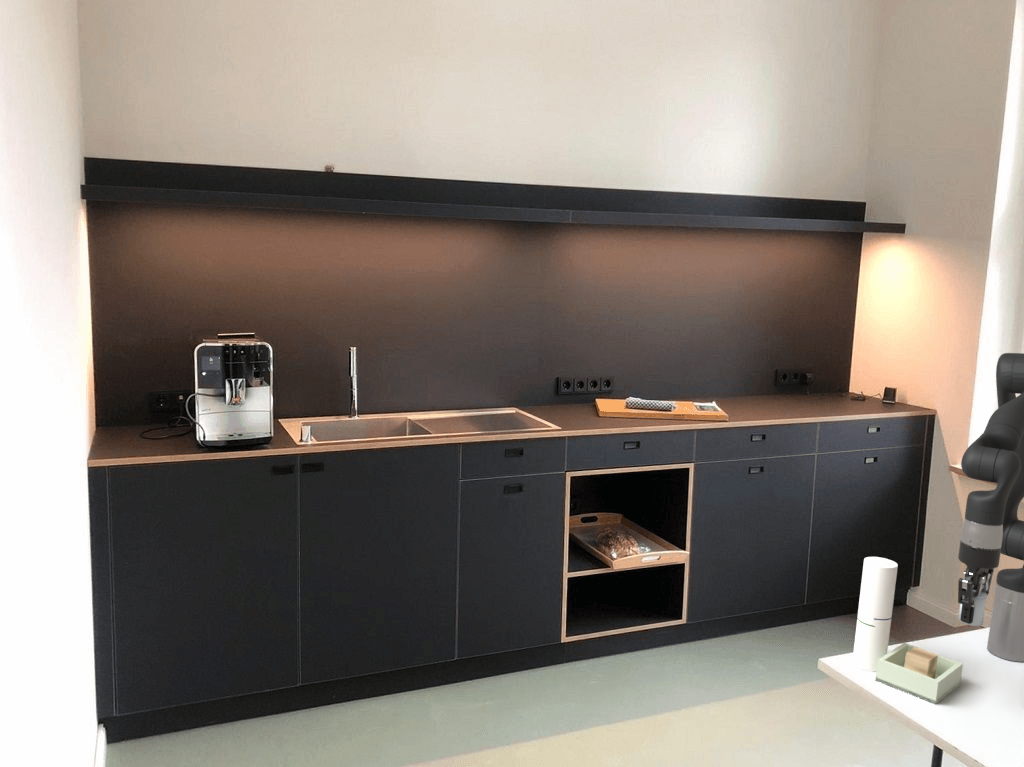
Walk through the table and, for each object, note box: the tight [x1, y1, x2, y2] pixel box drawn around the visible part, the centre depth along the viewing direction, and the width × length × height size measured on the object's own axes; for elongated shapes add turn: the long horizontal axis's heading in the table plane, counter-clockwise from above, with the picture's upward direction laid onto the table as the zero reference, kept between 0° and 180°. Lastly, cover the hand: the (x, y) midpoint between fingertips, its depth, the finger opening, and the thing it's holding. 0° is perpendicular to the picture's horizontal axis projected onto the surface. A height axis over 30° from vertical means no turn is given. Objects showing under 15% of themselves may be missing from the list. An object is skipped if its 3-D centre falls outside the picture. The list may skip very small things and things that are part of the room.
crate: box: [875, 642, 964, 705], centre depth 191 cm, size 14×13×5 cm
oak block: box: [904, 646, 939, 679], centre depth 191 cm, size 5×5×6 cm
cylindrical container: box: [852, 556, 898, 673], centre depth 197 cm, size 7×7×25 cm
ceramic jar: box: [958, 590, 988, 627], centre depth 180 cm, size 5×5×7 cm
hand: (970, 618), depth 180 cm, fingers closed on ceramic jar, 4 cm apart
